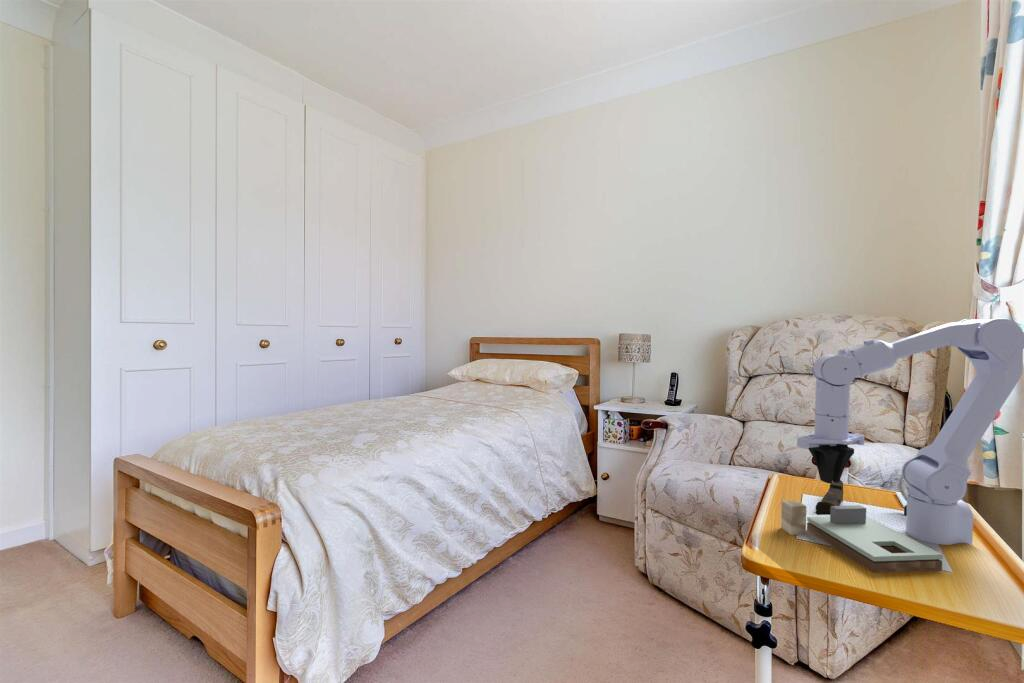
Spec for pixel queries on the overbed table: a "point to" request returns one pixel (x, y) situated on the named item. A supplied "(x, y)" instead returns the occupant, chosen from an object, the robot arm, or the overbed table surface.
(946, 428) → the robot arm
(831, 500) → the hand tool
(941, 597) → the overbed table surface
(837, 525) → the lid
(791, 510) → the block
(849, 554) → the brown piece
